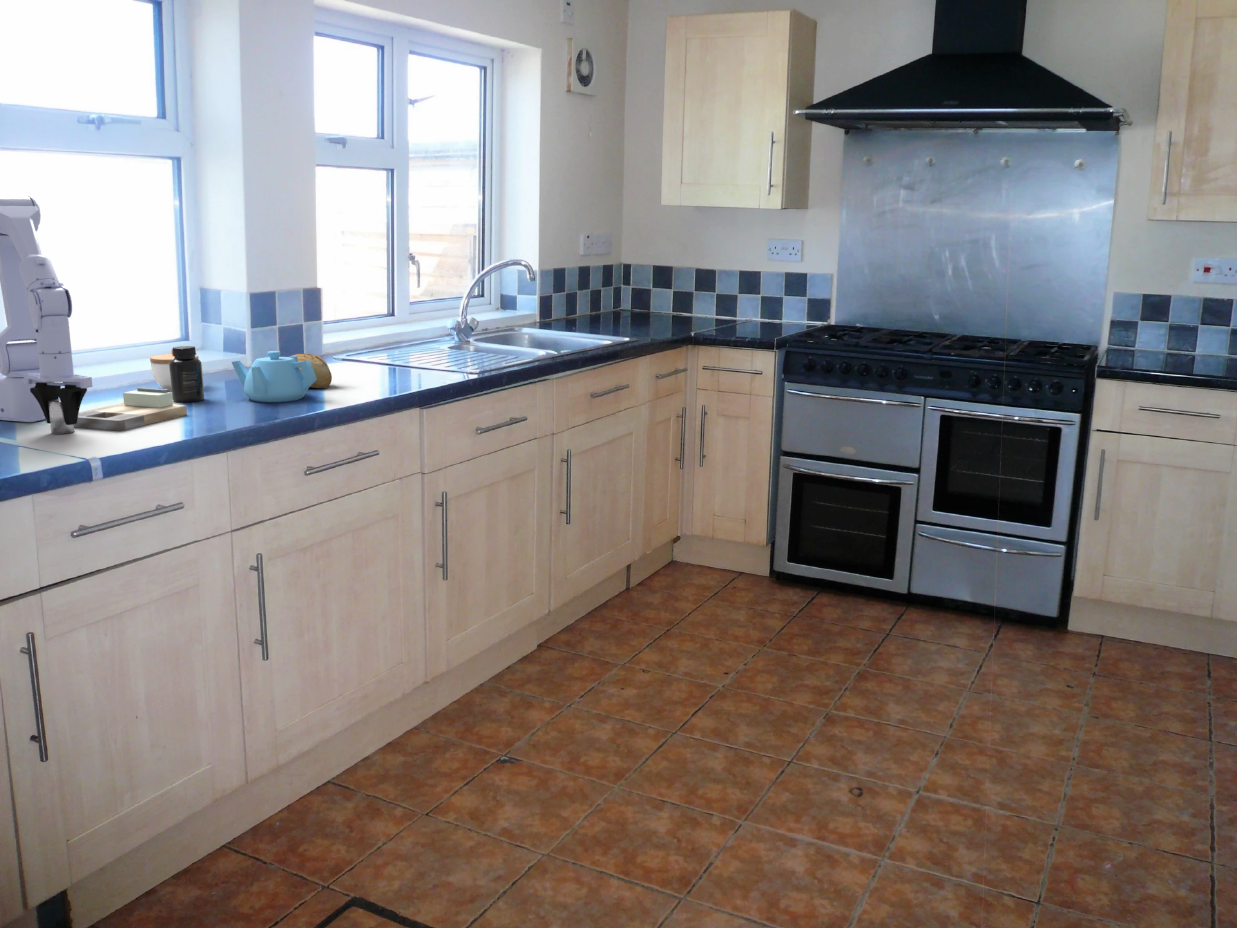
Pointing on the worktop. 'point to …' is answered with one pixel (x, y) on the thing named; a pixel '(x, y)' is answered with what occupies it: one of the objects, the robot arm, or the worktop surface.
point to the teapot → (276, 378)
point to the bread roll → (317, 370)
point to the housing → (127, 416)
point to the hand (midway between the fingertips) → (62, 423)
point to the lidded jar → (162, 369)
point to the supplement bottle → (186, 375)
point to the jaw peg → (58, 418)
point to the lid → (148, 398)
